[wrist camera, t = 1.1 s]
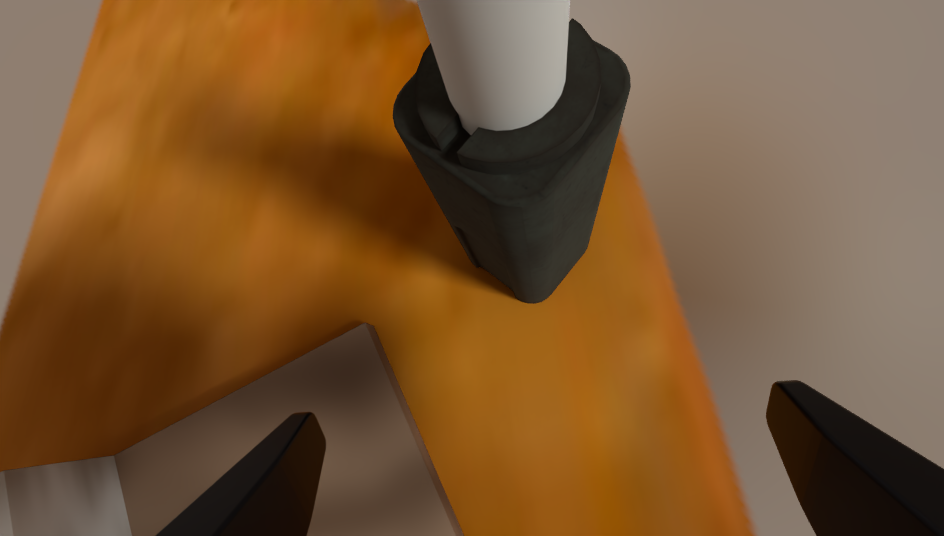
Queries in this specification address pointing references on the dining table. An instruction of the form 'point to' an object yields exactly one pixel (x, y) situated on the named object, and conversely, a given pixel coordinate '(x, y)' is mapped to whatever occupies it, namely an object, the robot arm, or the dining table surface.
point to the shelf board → (234, 435)
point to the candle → (514, 132)
